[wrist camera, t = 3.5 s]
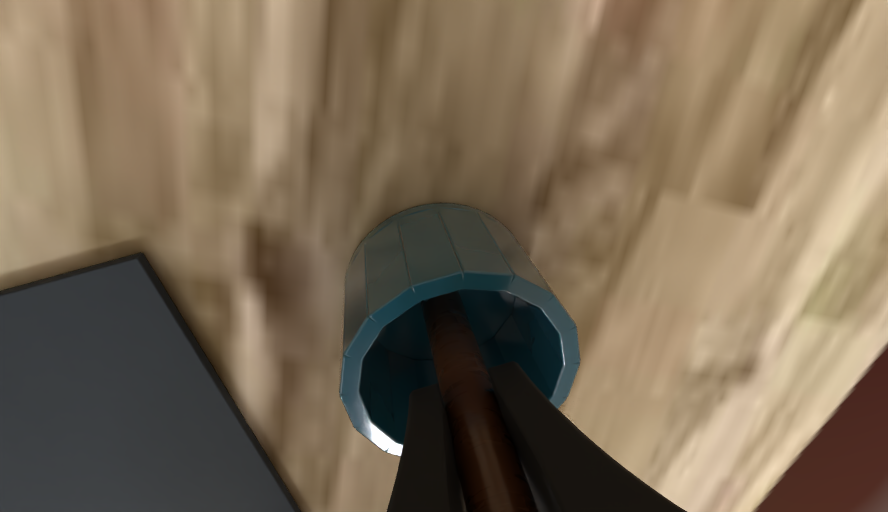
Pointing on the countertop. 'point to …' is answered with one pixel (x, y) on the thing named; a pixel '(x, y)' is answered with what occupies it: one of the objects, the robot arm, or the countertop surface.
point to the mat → (119, 404)
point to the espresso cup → (434, 274)
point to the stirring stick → (474, 413)
